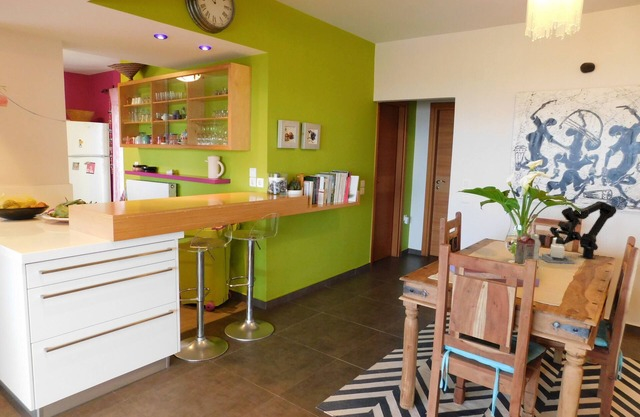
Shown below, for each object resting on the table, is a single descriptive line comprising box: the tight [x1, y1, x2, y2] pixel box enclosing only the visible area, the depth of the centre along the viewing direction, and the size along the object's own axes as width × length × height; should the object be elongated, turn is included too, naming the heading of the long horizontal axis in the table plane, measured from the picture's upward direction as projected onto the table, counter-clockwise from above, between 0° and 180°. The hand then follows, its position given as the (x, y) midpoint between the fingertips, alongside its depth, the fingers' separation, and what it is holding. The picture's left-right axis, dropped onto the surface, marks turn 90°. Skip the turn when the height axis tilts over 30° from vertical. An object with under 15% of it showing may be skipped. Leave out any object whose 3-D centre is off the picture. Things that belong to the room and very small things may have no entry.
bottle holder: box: [539, 253, 575, 265], centre depth 272 cm, size 14×16×3 cm
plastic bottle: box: [531, 233, 542, 266], centre depth 254 cm, size 6×7×20 cm
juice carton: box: [514, 232, 535, 264], centre depth 244 cm, size 7×7×22 cm
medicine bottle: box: [549, 237, 565, 258], centre depth 271 cm, size 7×7×12 cm
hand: (558, 243), depth 271 cm, fingers closed on medicine bottle, 6 cm apart
